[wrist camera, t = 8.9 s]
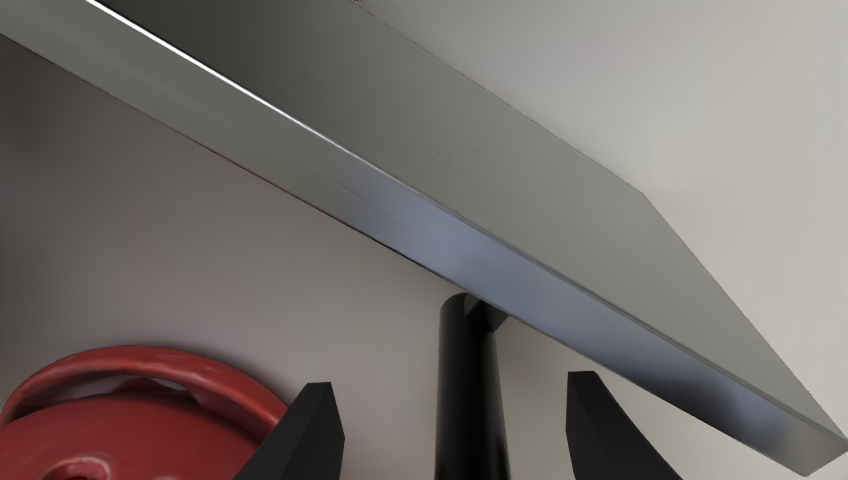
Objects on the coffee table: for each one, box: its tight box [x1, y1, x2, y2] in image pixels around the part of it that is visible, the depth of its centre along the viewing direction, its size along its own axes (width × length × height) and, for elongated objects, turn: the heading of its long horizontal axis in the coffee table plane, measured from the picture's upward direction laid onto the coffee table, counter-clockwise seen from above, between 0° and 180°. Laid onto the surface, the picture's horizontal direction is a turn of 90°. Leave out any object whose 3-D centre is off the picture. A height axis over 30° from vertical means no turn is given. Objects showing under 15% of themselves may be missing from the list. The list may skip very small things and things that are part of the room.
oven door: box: [0, 0, 848, 480], centre depth 10 cm, size 15×7×8 cm, turn 58°
